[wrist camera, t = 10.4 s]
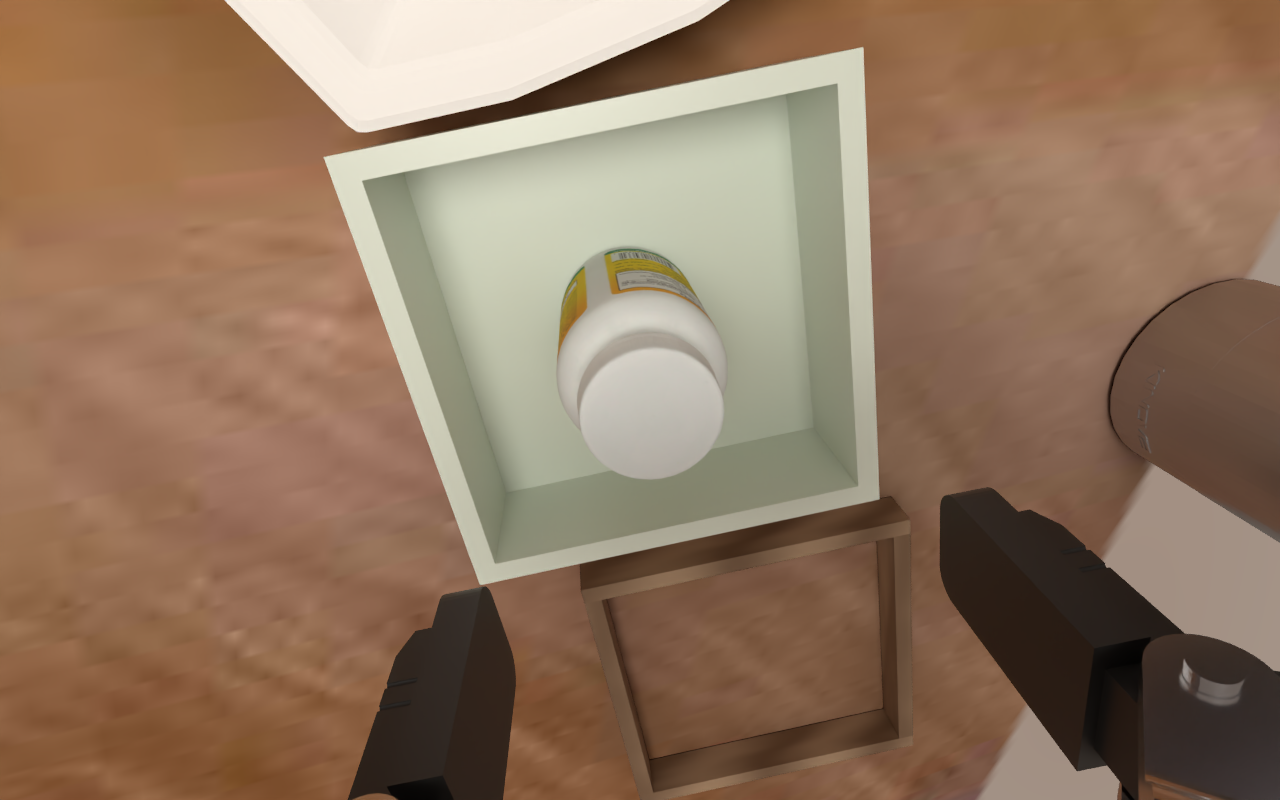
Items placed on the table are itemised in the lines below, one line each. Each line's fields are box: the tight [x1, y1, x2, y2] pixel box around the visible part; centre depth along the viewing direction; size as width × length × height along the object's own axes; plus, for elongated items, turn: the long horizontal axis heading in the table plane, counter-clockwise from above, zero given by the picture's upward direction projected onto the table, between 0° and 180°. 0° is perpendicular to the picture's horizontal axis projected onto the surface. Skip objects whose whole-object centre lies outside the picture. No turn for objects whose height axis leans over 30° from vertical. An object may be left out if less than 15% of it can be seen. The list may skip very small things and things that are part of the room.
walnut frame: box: [580, 497, 913, 800], centre depth 35 cm, size 16×16×2 cm
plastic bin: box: [324, 47, 879, 585], centre depth 25 cm, size 16×16×6 cm
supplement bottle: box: [556, 247, 728, 480], centre depth 22 cm, size 5×5×10 cm
